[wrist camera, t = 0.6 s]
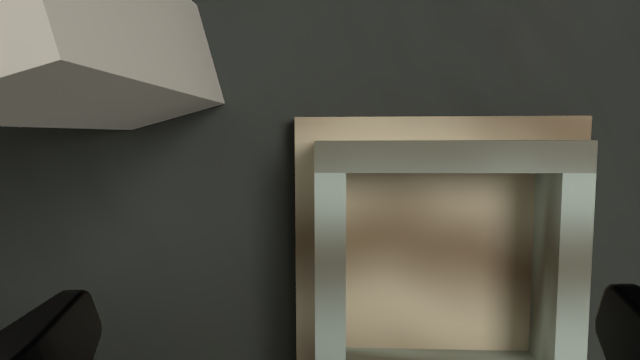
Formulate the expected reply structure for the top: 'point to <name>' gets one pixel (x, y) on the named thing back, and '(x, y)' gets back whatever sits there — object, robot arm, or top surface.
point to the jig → (444, 237)
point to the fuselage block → (103, 63)
